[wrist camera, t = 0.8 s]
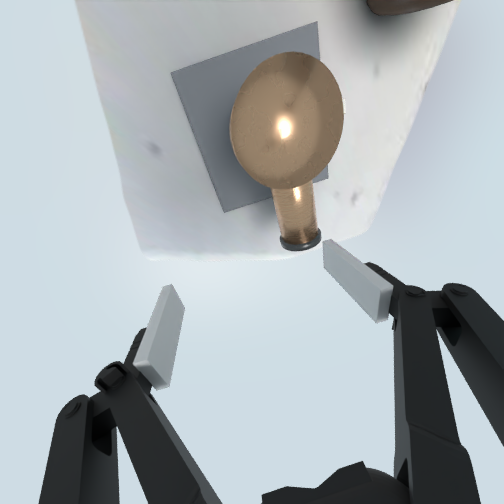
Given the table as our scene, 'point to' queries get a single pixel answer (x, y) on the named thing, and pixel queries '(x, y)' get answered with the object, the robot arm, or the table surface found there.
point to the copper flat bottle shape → (288, 137)
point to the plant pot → (401, 6)
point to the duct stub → (220, 106)
